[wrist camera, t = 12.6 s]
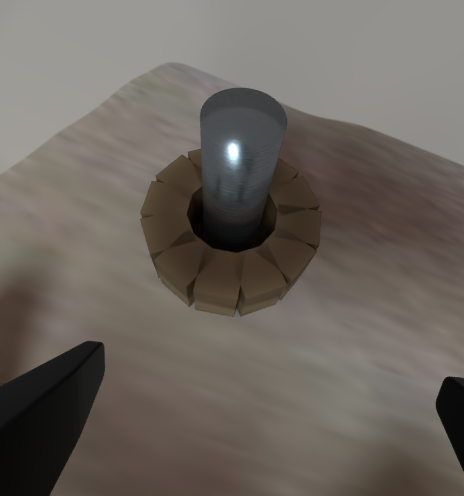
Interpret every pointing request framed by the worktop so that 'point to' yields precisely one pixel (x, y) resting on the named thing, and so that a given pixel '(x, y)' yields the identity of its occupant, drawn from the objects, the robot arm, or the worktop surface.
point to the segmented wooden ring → (224, 262)
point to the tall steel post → (238, 164)
